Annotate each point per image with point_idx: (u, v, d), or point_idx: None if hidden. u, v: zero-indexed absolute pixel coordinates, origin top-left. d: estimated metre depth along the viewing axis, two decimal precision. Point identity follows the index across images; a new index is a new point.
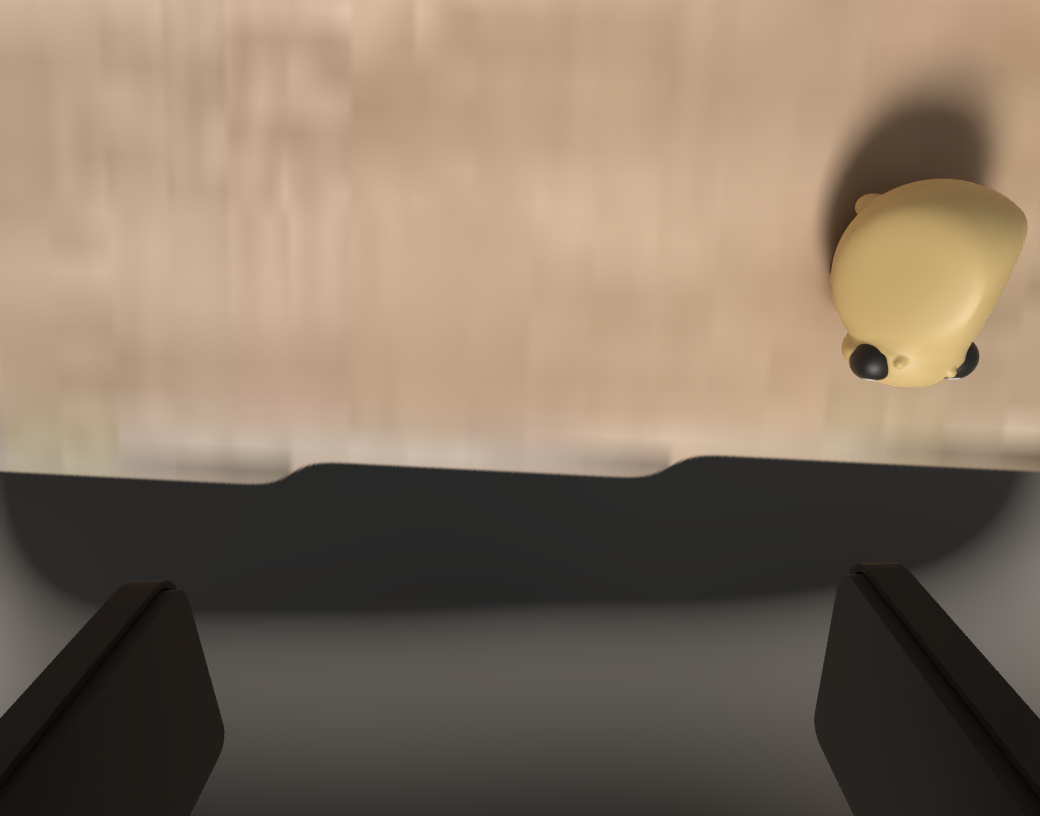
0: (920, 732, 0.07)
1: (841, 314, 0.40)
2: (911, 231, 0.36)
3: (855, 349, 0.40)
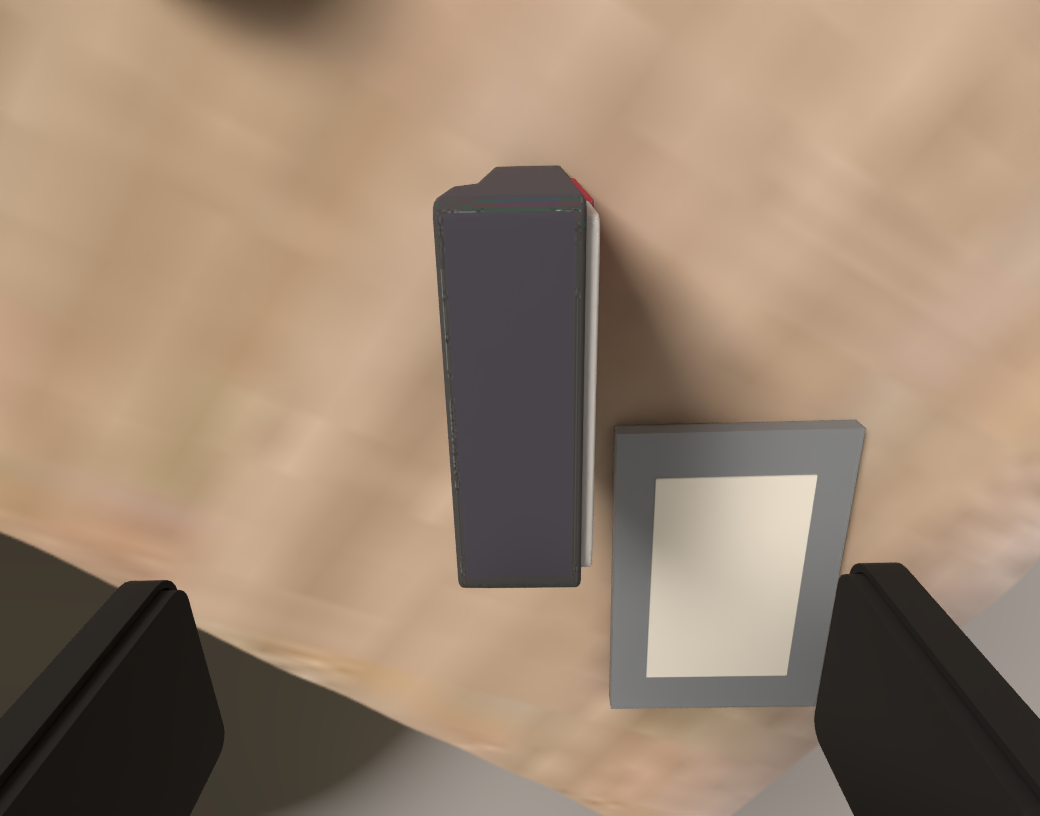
0: (920, 732, 0.07)
1: None
2: None
3: None
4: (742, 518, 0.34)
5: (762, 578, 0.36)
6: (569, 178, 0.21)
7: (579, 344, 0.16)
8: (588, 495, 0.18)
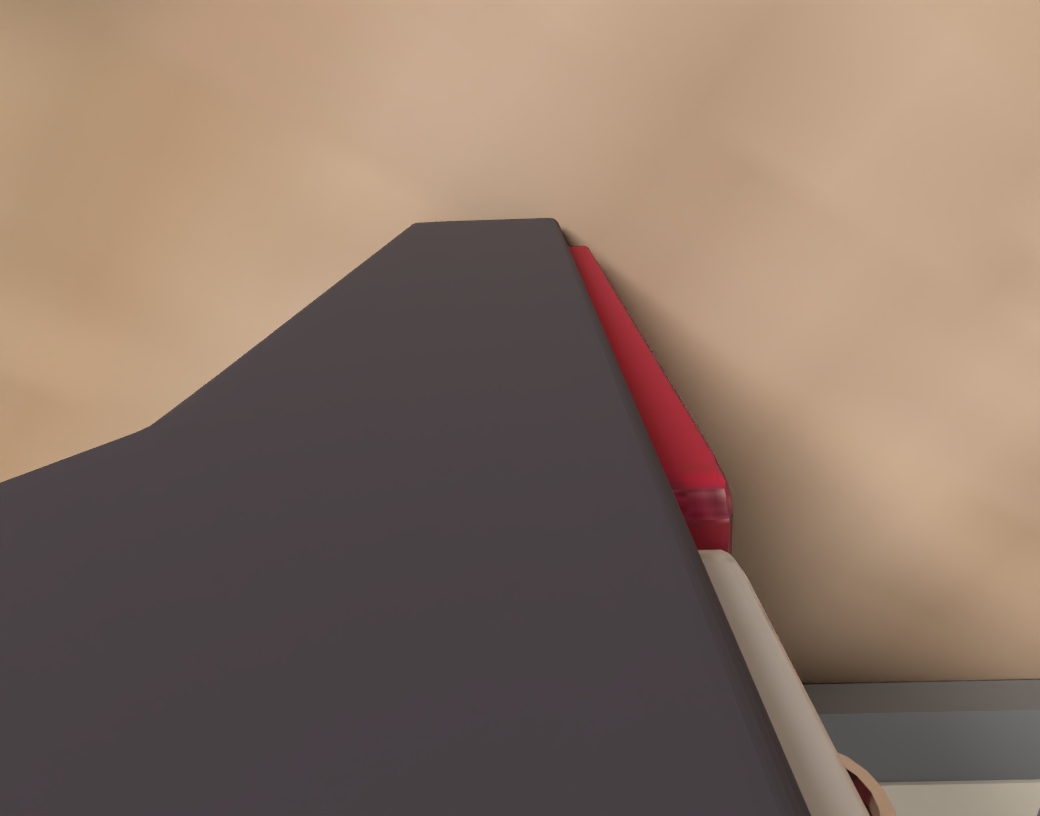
0: None
1: None
2: None
3: None
4: None
5: None
6: (599, 333, 0.05)
7: None
8: None
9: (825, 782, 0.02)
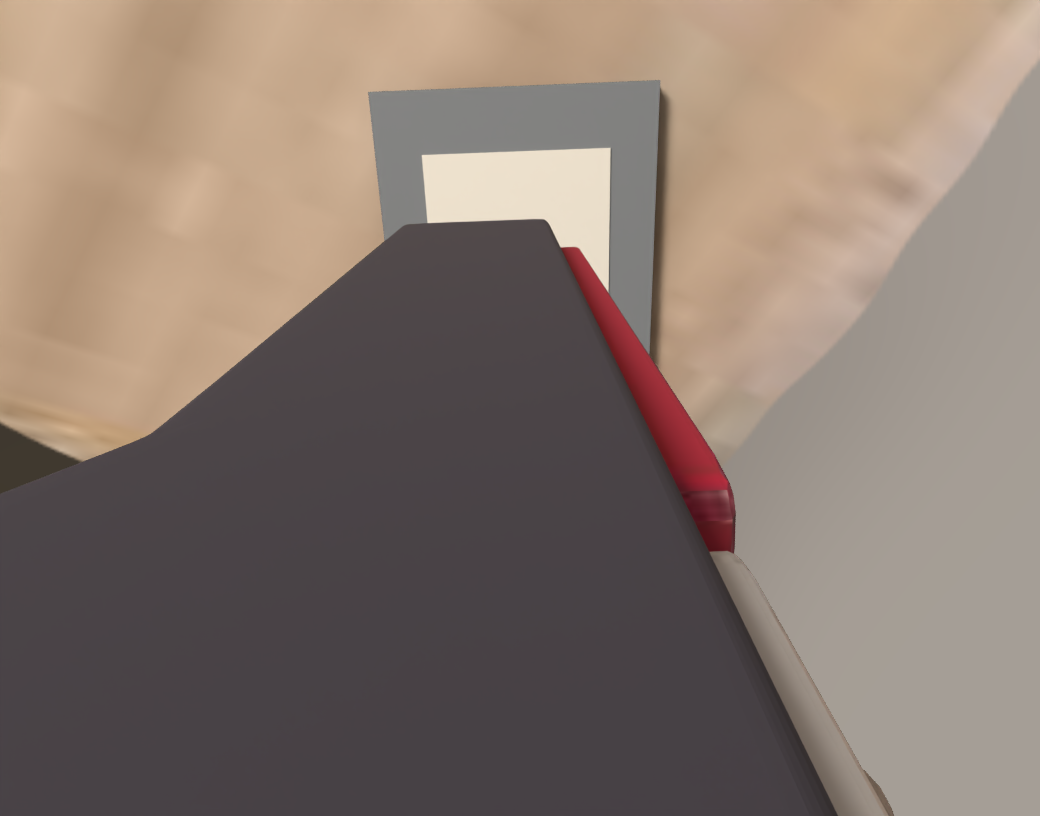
0: None
1: None
2: None
3: None
4: (530, 212, 0.29)
5: None
6: (598, 335, 0.05)
7: None
8: None
9: (843, 782, 0.02)
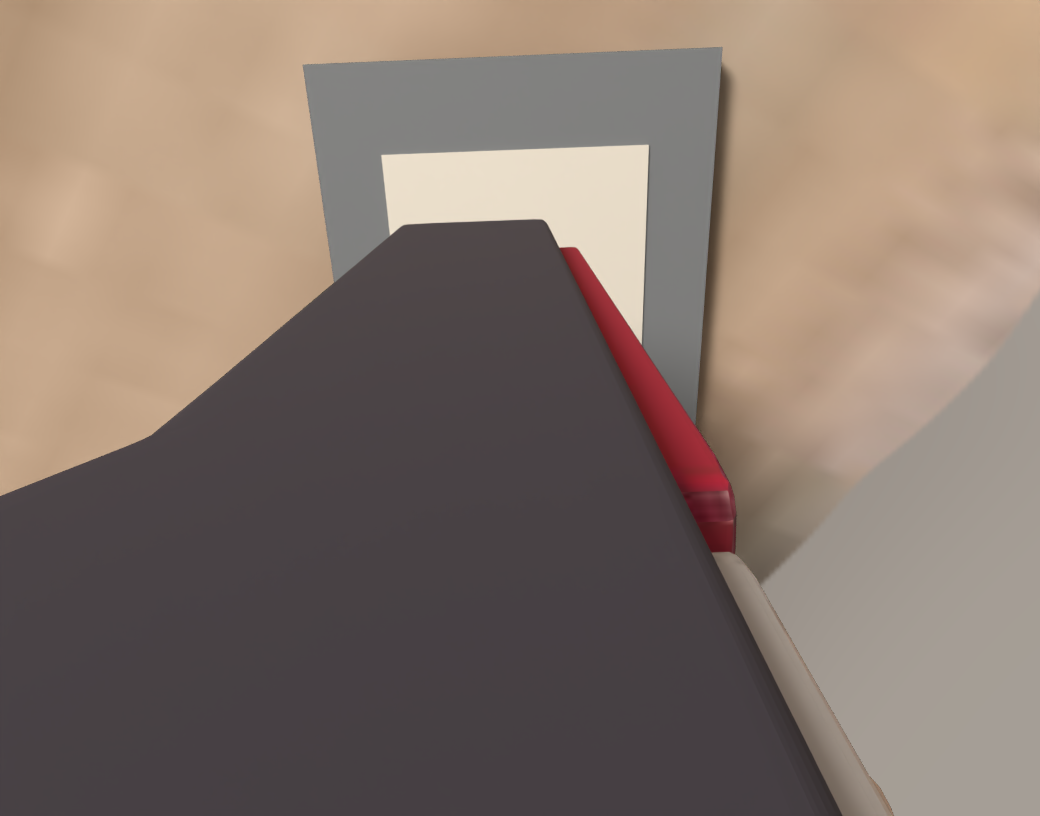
0: None
1: None
2: None
3: None
4: None
5: None
6: (599, 336, 0.05)
7: None
8: None
9: (847, 784, 0.02)
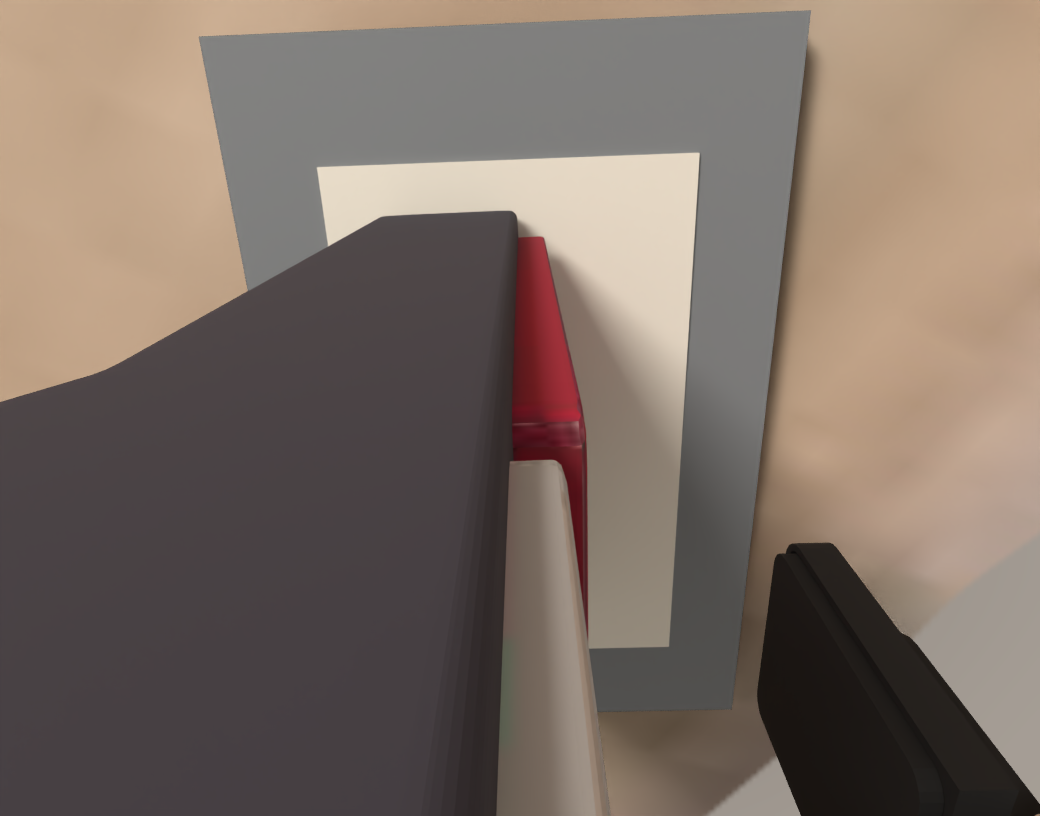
0: (835, 697, 0.08)
1: None
2: None
3: None
4: None
5: (597, 430, 0.16)
6: (500, 302, 0.06)
7: None
8: None
9: (553, 585, 0.03)
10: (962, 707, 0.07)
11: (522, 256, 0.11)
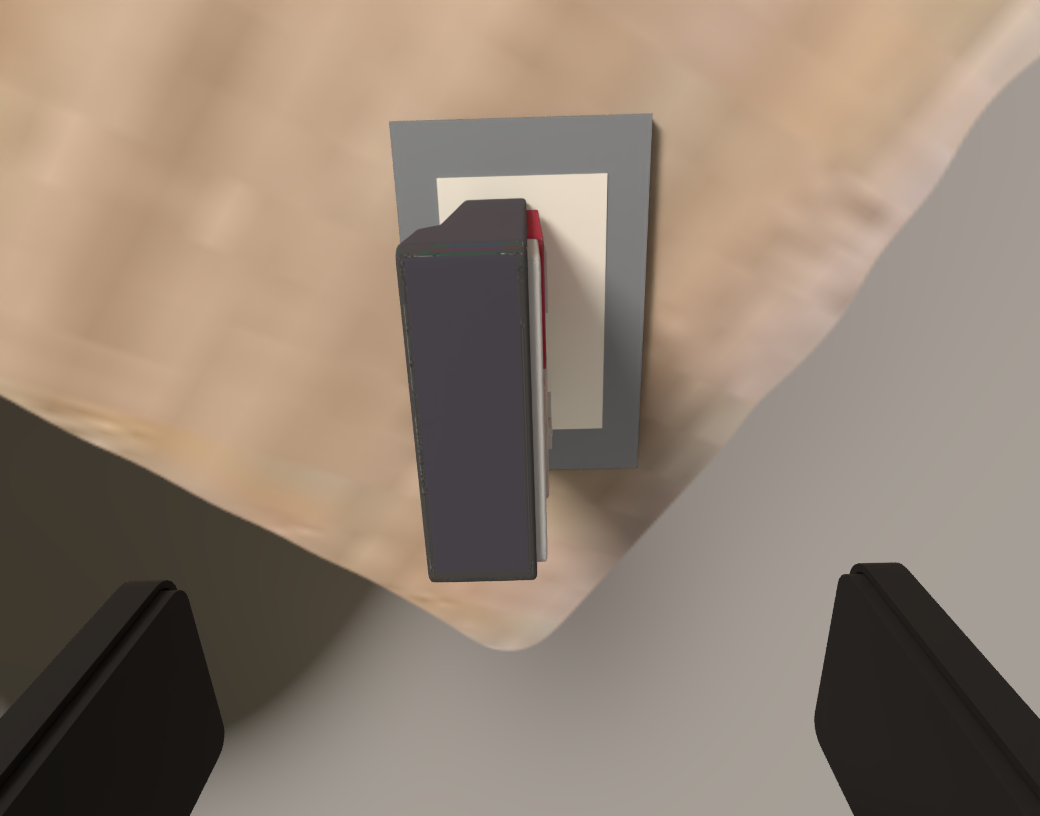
0: (920, 732, 0.07)
1: None
2: None
3: None
4: None
5: (563, 306, 0.33)
6: (523, 216, 0.23)
7: (525, 366, 0.19)
8: (541, 497, 0.21)
9: (534, 244, 0.20)
10: None
11: (528, 215, 0.28)
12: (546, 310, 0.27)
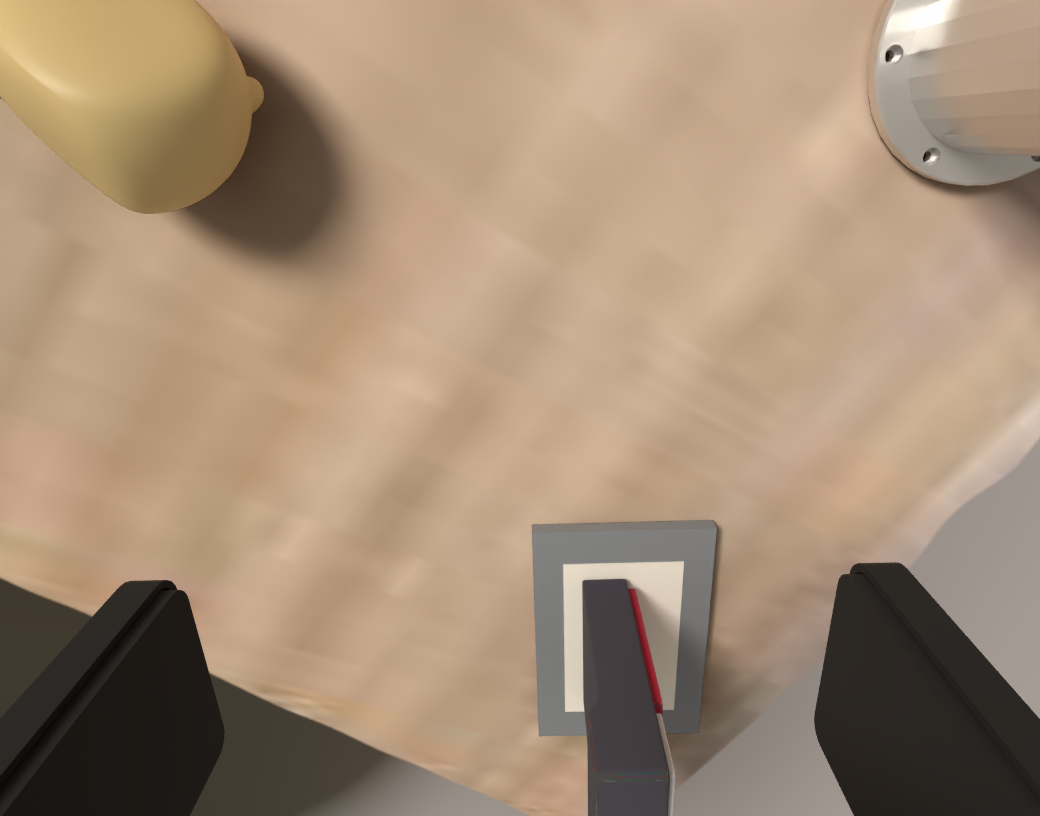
0: (920, 732, 0.07)
1: None
2: (178, 62, 0.27)
3: None
4: None
5: (649, 637, 0.46)
6: (646, 673, 0.36)
7: None
8: None
9: (664, 734, 0.33)
10: None
11: (634, 614, 0.41)
12: None
